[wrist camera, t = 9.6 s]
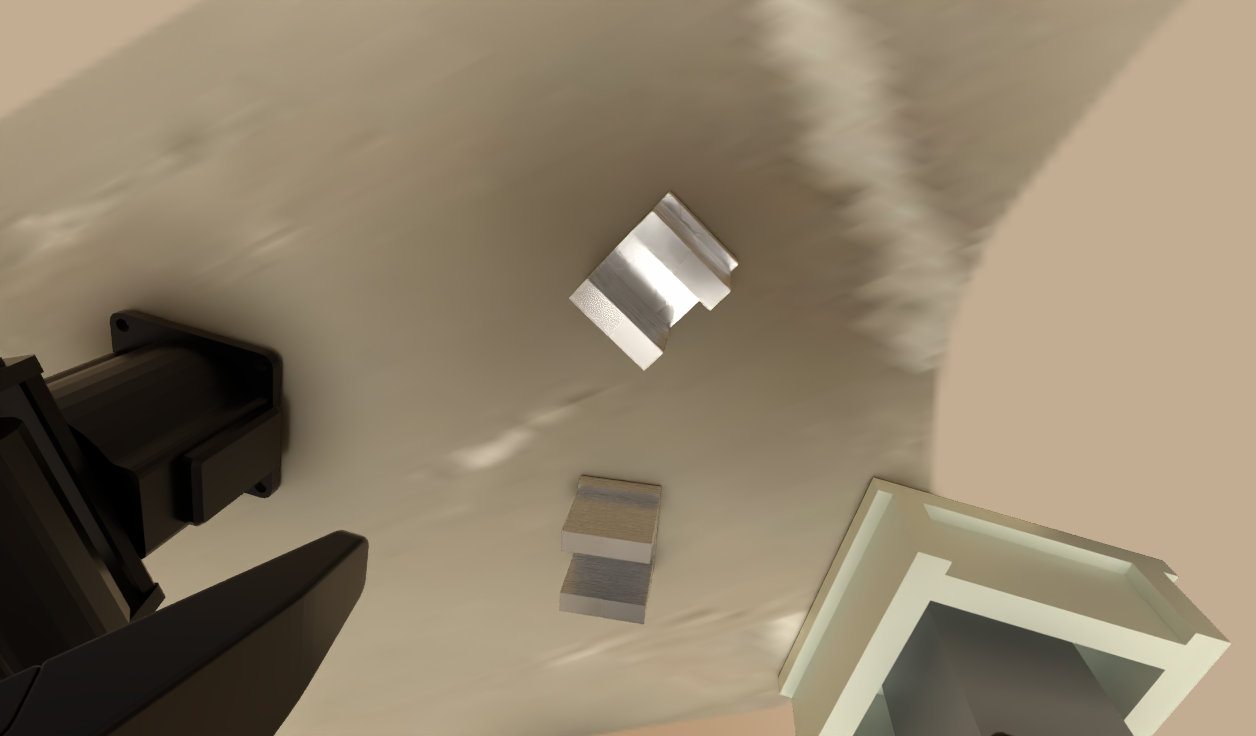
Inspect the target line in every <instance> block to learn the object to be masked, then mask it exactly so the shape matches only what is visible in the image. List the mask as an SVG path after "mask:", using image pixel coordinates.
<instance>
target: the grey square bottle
mask: <svg viewBox="0 0 1256 736" xmlns="http://www.w3.org/2000/svg"><path fill="white" fill-rule="evenodd" d="M882 689H883V693H884V696H885V700H886V704H887V707H888V711H889V715H890V718H891V722H892V726H893V730H894V733H895V736H990V735H991V734H992V733H995V732H997V731H1003V732H1006V733H1009V734H1013V735H1016V736H1134V735H1133V734H1132V732H1131V731H1130V729H1129V728H1128V726H1127V725H1126V723H1125V722H1124V720H1123V719H1122V717H1121V716H1120V714H1119V713H1118V711H1117V709H1116V708H1115V706H1114V705H1113V703H1112V702H1111V700H1110V699H1109V697H1108V696H1107V694H1106V693H1105V691H1104V690H1103V688H1102V687H1101V685H1100V684H1099V682H1098V681H1097V679H1096V678H1095V676H1094V674H1093V673H1092V671H1091V670H1090V668H1089V667H1088V665H1087V664H1086V662H1085V661H1084V659H1083V658H1082V656H1081V655H1080V653H1079V652H1078V650H1077V649H1076V647H1075V646H1074V644H1073V643H1072V642H1069V641H1066V640H1063V639H1059V638H1056V637H1053V636H1049V635H1046V634H1042V633H1039V632H1036V631H1032V630H1029V629H1025V628H1022V627H1019V626H1015V625H1012V624H1009V623H1005V622H1002V621H998V620H995V619H992V618H988V617H985V616H982V615H978V614H975V613H971V612H968V611H965V610H961V609H958V608H954V607H951V606H948V605H944V604H941V603H938V602H934V601H931V600H930V602H929V604H928V605H927V607H926V609H925V611H924V612H923V614H922V616H921V617H920V619H919V621H918V623H917V624H916V626H915V628H914V630H913V631H912V633H911V635H910V637H909V638H908V640H907V642H906V644H905V645H904V647H903V649H902V651H901V652H900V654H899V656H898V658H897V659H896V661H895V663H894V664H893V666H892V668H891V670H890V671H889V673H888V675H887V677H886V678H885V680H884V682H883V684H882Z"/></svg>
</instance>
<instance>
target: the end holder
mask: <svg viewBox="0 0 1256 736" xmlns="http://www.w3.org/2000/svg"><path fill="white" fill-rule="evenodd" d="M1177 578H1178V575H1177V574H1176V573H1174V571H1173V570H1172V569H1171V568H1170V567H1168V565H1167V564H1166V563H1165V562H1164V561H1162V560H1159V559H1156V558H1152V557H1149V556H1145V555H1142V554H1138V553H1134V552H1131V551H1128V550H1124V549H1121V548H1117V547H1114V546H1110V545H1107V544H1103V543H1100V542H1096V541H1093V540H1089V539H1086V538H1083V537H1079V536H1076V535H1072V534H1068V533H1065V532H1061V531H1058V530H1055V529H1051V528H1048V527H1044V526H1041V525H1037V524H1034V523H1030V522H1027V521H1023V520H1020V519H1016V518H1013V517H1009V516H1006V515H1002V514H999V513H995V512H992V511H989V510H985V509H981V508H978V507H974V506H971V505H968V504H964V503H960V502H957V501H954V500H950V499H947V498H943V497H940V496H936V495H933V494H929V493H926V492H922V491H919V490H916V489H912V488H909V487H905V486H902V485H898V484H895V483H891V482H888V481H884V480H881V479H877V478H874V477H873V479H872V481H871V483H870V485H869V487H868V490H867V492H866V494H865V496H864V498H863V500H862V502H861V504H860V506H859V509H858V511H857V513H856V515H855V517H854V519H853V521H852V523H851V525H850V527H849V530H848V532H847V534H846V536H845V538H844V540H843V542H842V544H841V546H840V548H839V551H838V553H837V555H836V557H835V559H834V561H833V563H832V565H831V567H830V570H829V572H828V574H827V576H826V578H825V580H824V582H823V584H822V586H821V588H820V591H819V593H818V595H817V597H816V599H815V601H814V603H813V605H812V607H811V609H810V612H809V614H808V616H807V618H806V620H805V622H804V624H803V626H802V628H801V631H800V633H799V635H798V637H797V639H796V641H795V643H794V645H793V647H792V649H791V652H790V654H789V656H788V658H787V660H786V662H785V664H784V666H783V668H782V670H781V673H780V675H779V677H778V682H779V694H780V695H784V696H787V697H790V698H792V704H793V713H794V723H795V732H796V736H895V733H894V730H893V726H892V722H891V718H890V715H889V711H888V707H887V704H886V700H885V696H884V693H883V689H882V684H883V682H884V680H885V678H886V677H887V675H888V673H889V671H890V670H891V668H892V666H893V664H894V663H895V661H896V659H897V658H898V656H899V654H900V652H901V651H902V649H903V647H904V645H905V644H906V642H907V640H908V638H909V637H910V635H911V633H912V631H913V630H914V628H915V626H916V624H917V623H918V621H919V619H920V617H921V616H922V614H923V612H924V611H925V609H926V607H927V605H928V604H929V602H930V600H931V601H934V602H938V603H941V604H944V605H948V606H951V607H954V608H958V609H961V610H965V611H968V612H971V613H975V614H978V615H982V616H985V617H988V618H992V619H995V620H998V621H1002V622H1005V623H1009V624H1012V625H1015V626H1019V627H1022V628H1025V629H1029V630H1032V631H1036V632H1039V633H1042V634H1046V635H1049V636H1053V637H1056V638H1059V639H1063V640H1066V641H1069V642H1072V643H1073V644H1074V646H1075V647H1076V649H1077V650H1078V652H1079V653H1080V655H1081V656H1082V658H1083V659H1084V661H1085V662H1086V664H1087V665H1088V667H1089V668H1090V670H1091V671H1092V673H1093V674H1094V676H1095V678H1096V679H1097V681H1098V682H1099V684H1100V685H1101V687H1102V688H1103V690H1104V691H1105V693H1106V694H1107V696H1108V697H1109V699H1110V700H1111V702H1112V703H1113V705H1114V706H1115V708H1116V709H1117V711H1118V713H1119V714H1120V716H1121V717H1122V719H1123V720H1124V722H1125V723H1126V725H1127V726H1128V728H1129V729H1130V731H1131V732H1132V734H1133V735H1134V736H1152V735H1153V734H1154V733H1155V731H1156V730H1157V729H1158V728H1159V727H1160V726H1161V725H1162V723H1163V722H1164V721H1165V720H1166V719H1167V718H1168V716H1169V715H1170V714H1171V713H1172V712H1173V711H1174V709H1175V708H1176V707H1177V706H1178V705H1179V704H1180V702H1181V701H1182V700H1183V699H1184V698H1185V697H1186V696H1187V694H1188V693H1189V692H1190V691H1191V690H1192V688H1193V687H1194V686H1195V685H1196V684H1197V683H1198V682H1199V680H1200V679H1201V678H1202V677H1203V676H1204V675H1205V674H1206V672H1207V671H1208V670H1209V669H1210V668H1211V667H1212V665H1213V664H1214V663H1215V662H1216V661H1217V660H1218V658H1219V657H1220V656H1221V655H1222V654H1223V653H1224V652H1225V650H1226V649H1227V648H1228V647H1229V646H1230V644H1231V642H1230V641H1229V640H1228V639H1227V638H1226V637H1225V636H1224V635H1223V634H1222V633H1221V632H1220V631H1219V630H1218V629H1217V628H1216V627H1215V626H1214V625H1213V623H1212V622H1211V621H1210V620H1209V619H1208V618H1207V617H1206V616H1205V615H1204V614H1203V613H1202V612H1201V611H1200V610H1199V609H1198V608H1197V607H1196V606H1195V605H1194V604H1193V603H1192V602H1191V601H1190V599H1189V598H1188V597H1187V596H1186V595H1185V594H1184V593H1183V592H1182V591H1181V590H1180V589H1179V588H1178V587H1177V586H1176V585H1175V584H1174V582H1175V581H1176V579H1177Z"/></svg>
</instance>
